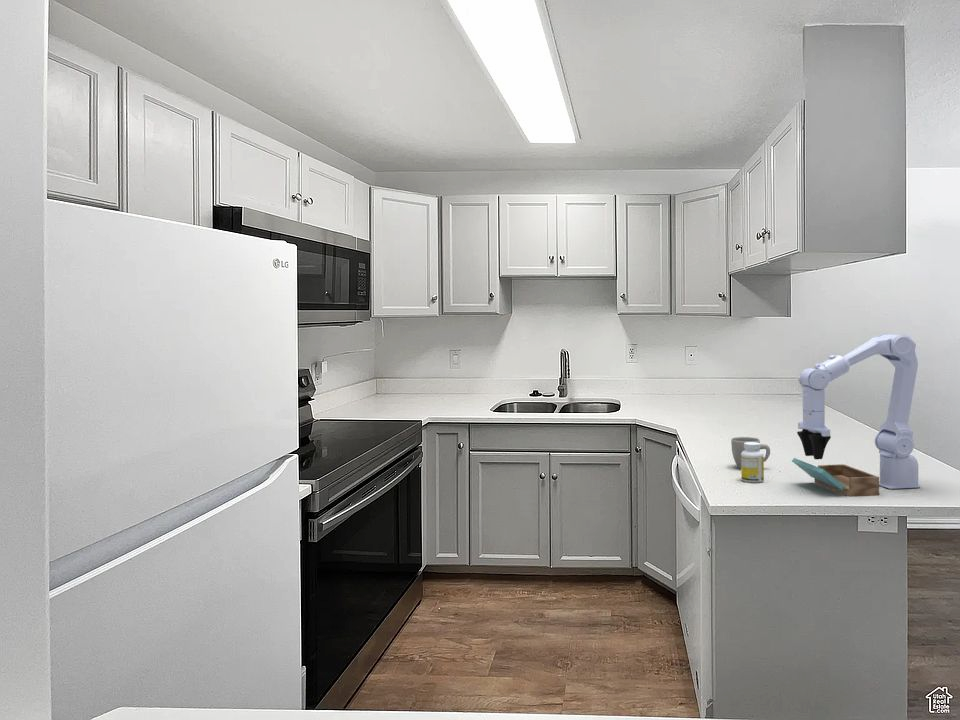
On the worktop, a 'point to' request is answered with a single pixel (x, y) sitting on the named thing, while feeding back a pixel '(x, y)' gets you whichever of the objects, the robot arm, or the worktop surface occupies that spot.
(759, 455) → the pill bottle
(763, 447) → the mug
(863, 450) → the worktop surface
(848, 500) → the worktop surface
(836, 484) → the teal box lid
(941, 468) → the worktop surface
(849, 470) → the wooden box
